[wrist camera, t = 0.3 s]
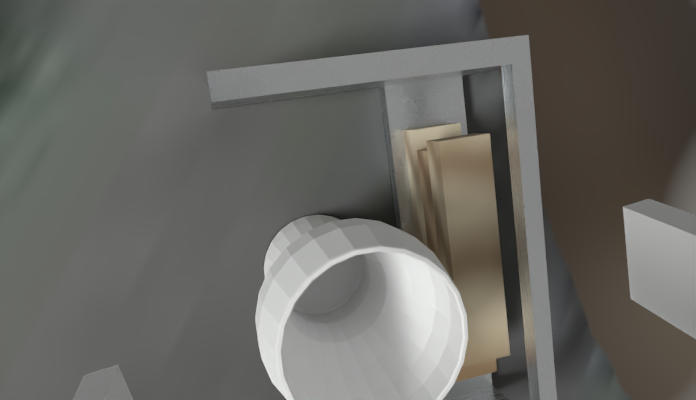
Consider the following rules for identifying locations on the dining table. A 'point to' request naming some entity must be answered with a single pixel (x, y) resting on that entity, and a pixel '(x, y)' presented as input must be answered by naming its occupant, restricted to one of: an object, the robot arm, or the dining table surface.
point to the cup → (358, 314)
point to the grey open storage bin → (428, 110)
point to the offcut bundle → (462, 231)
